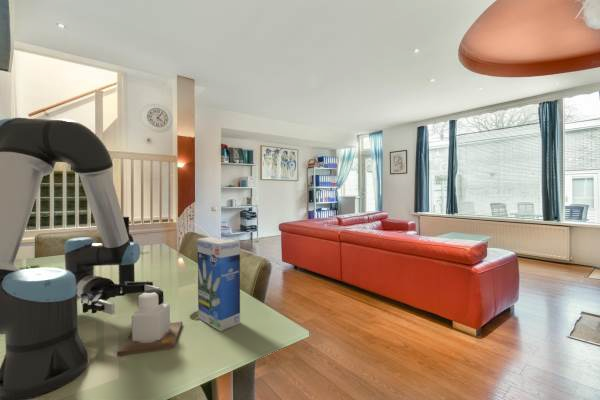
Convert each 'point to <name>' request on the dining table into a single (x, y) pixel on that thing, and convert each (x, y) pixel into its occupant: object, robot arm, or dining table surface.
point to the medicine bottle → (151, 317)
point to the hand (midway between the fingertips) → (137, 300)
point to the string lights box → (219, 282)
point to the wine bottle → (128, 270)
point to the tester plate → (151, 342)
